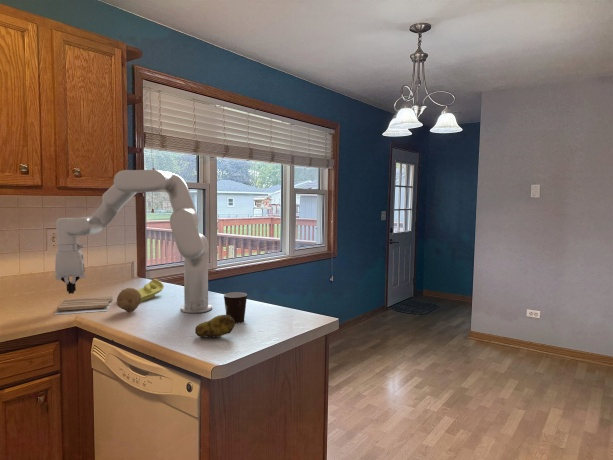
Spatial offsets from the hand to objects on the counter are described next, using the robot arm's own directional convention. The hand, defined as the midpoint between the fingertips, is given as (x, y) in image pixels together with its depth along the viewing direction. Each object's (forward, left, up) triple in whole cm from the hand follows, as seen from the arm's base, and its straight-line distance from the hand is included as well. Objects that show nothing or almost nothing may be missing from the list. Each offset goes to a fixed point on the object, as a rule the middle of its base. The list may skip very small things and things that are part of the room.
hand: (71, 292), depth 175 cm
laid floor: (+4, -4, -7) cm, 9 cm away
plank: (+1, -4, -7) cm, 8 cm away
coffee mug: (-37, -60, -7) cm, 71 cm away
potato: (-53, -51, -7) cm, 74 cm away
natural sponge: (-11, -22, -7) cm, 26 cm away
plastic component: (+13, -27, -8) cm, 31 cm away
